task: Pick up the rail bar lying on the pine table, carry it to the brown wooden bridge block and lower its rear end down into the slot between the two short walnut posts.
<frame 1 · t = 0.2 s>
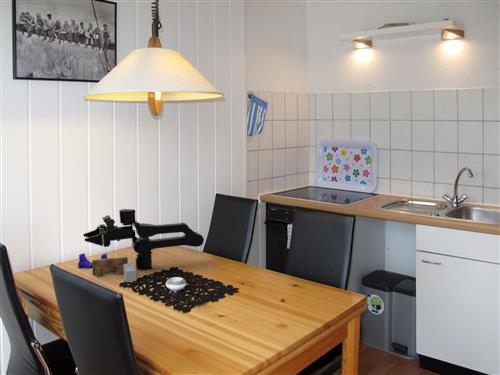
hand: (84, 237, 222), 16 cm above the table, tool horizontal, fingers open, 9 cm apart
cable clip: (93, 268, 236), on the table
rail: (129, 278, 218), on the table
brown wooden bridge block: (110, 272, 227), on the table
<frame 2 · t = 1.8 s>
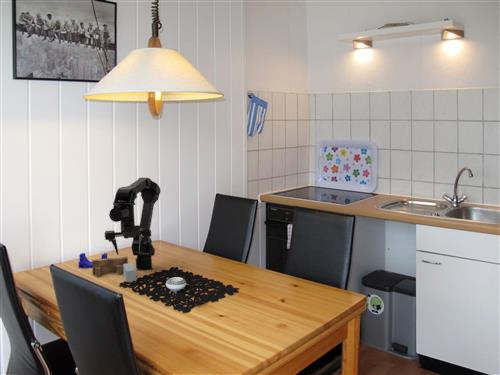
hand: (128, 253, 217), 11 cm above the table, tool pointing down, fingers open, 9 cm apart
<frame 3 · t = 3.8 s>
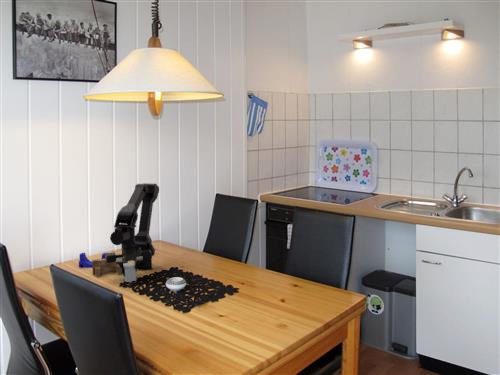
hand: (129, 275, 218), 1 cm above the table, tool pointing down, fingers closed on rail, 4 cm apart
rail: (129, 278, 218), on the table, touching gripper
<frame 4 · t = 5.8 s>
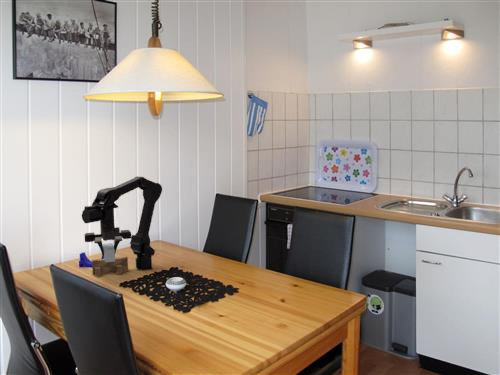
hand: (108, 255, 217), 10 cm above the table, tool pointing down, fingers closed on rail, 4 cm apart
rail: (109, 258, 218), point 9 cm above the table, touching gripper
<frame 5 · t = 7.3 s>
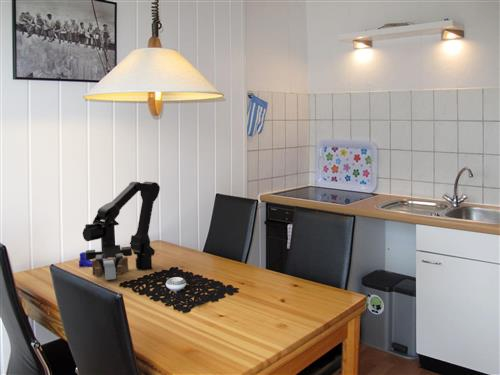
hand: (109, 272, 218), 2 cm above the table, tool pointing down, fingers closed on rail, 4 cm apart
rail: (109, 275, 218), point 1 cm above the table, touching gripper
when the fingers open (2 cm above the table, at t = 8.3 s): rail drops 1 cm, on the table.
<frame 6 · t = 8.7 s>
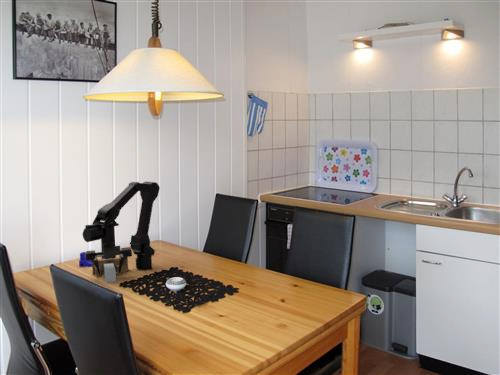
hand: (109, 273, 218), 2 cm above the table, tool pointing down, fingers open, 8 cm apart
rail: (110, 278, 219), on the table
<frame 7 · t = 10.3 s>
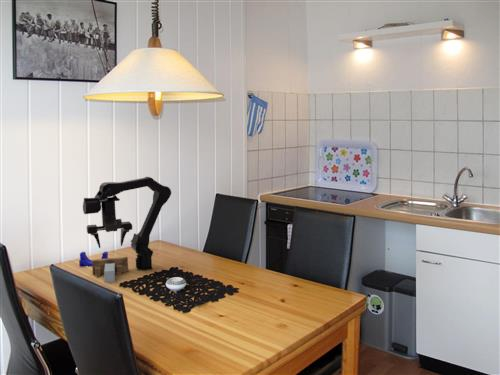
hand: (110, 246, 224), 12 cm above the table, tool pointing down, fingers open, 9 cm apart
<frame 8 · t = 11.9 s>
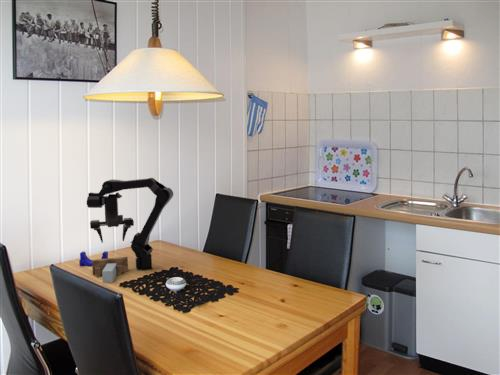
hand: (112, 241, 233), 12 cm above the table, tool pointing down, fingers open, 9 cm apart
at the end: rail 0.1 cm from the target spot, on the table; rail tilted 0°; the gripper is holding nothing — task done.
